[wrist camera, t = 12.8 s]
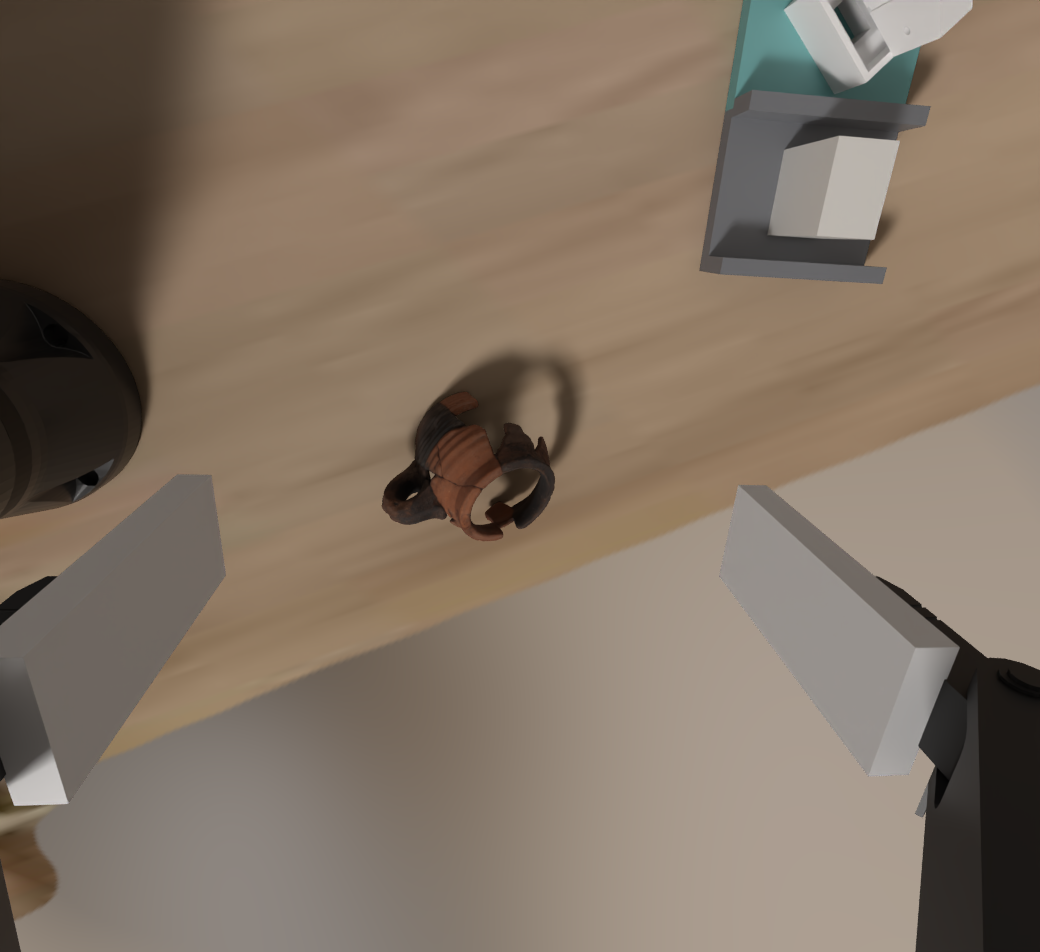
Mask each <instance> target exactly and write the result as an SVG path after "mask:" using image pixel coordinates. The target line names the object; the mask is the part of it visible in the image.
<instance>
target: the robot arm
mask: <svg viewBox="0 0 1040 952" xmlns="http://www.w3.org/2000/svg"><path fill="white" fill-rule="evenodd" d="M141 417H142V416H141V404H140V398H139V394H138V390H137V387H136V384H135V381H134V379H133V376H132V374H131V372H130V369H129V367H128V366H127V364H126V362H125V360H124V359H123V357H122V355H121V354H120V352H119V351H118V350H117V348H116V347H115V345H114V344H113V343H112V342H111V340H110V339H109V338H108V337H107V336H106V335H105V334H104V333H103V331H102V330H101V329H100V328H99V327H97V326H96V325H95V324H94V323H93V322H92V321H91V320H90V319H89V318H87V317H86V316H85V315H84V314H82V313H81V312H80V311H78V310H77V309H75V308H74V307H72V306H71V305H69V304H68V303H66V302H64V301H63V300H61V299H59V298H57V297H55V296H53V295H51V294H49V293H47V292H44V291H42V290H40V289H37V288H34V287H31V286H28V285H25V284H21V283H17V282H13V281H7V280H1V279H0V519H3V518H8V517H13V516H19V515H24V514H29V513H35V512H40V511H45V510H51V509H55V508H60V507H63V506H66V505H69V504H72V503H74V502H77V501H79V500H81V499H83V498H85V497H87V496H89V495H91V494H92V493H94V492H95V491H97V490H98V489H99V488H101V487H102V486H104V485H105V484H107V483H108V482H109V481H111V480H112V479H113V478H114V477H116V476H117V475H118V474H119V473H120V472H121V471H122V470H123V469H124V467H125V466H126V465H127V463H128V462H129V460H130V459H131V457H132V455H133V453H134V451H135V449H136V446H137V443H138V440H139V436H140V431H141ZM225 576H226V573H225V566H224V559H223V552H222V545H221V538H220V531H219V524H218V517H217V511H216V504H215V497H214V490H213V483H212V476H211V475H184V474H177V475H176V476H175V477H174V478H173V479H171V480H170V481H169V482H168V483H167V484H166V485H164V486H163V487H162V488H161V489H160V490H159V491H157V492H156V493H155V494H154V495H153V496H152V497H150V498H149V499H148V500H147V501H146V502H145V503H143V504H142V505H141V506H140V507H139V508H137V509H136V510H135V511H134V512H133V513H132V514H130V515H129V516H128V517H127V518H126V519H125V520H123V521H122V522H121V523H120V524H119V525H118V526H116V527H115V528H114V529H113V530H112V531H110V532H109V533H108V534H107V535H106V536H105V537H103V538H102V539H101V540H100V541H99V542H98V543H96V544H95V545H94V546H93V547H92V548H91V549H89V550H88V551H87V552H86V553H85V554H84V555H82V556H81V557H80V558H79V559H78V560H76V561H75V562H74V563H73V564H72V565H71V566H69V567H68V568H67V569H66V570H65V571H64V572H62V573H61V574H60V575H59V576H47V577H45V578H43V579H41V580H39V581H37V582H35V583H33V584H31V585H29V586H27V587H25V588H23V589H21V590H18V591H16V592H15V593H14V594H13V595H12V596H10V597H9V598H8V599H7V600H5V601H4V602H3V603H2V604H0V781H1V780H2V779H3V778H5V781H6V784H7V786H8V789H9V792H10V795H11V798H12V800H13V803H14V806H19V805H48V804H68V803H69V802H70V801H71V799H72V798H73V796H74V795H75V793H76V792H77V791H78V789H79V788H80V786H81V785H82V783H83V782H84V780H85V779H86V778H87V776H88V774H89V773H90V771H91V770H92V769H93V767H94V766H95V764H96V763H97V762H98V760H99V759H100V757H101V756H102V754H103V753H104V751H105V750H106V748H107V747H108V746H109V744H110V743H111V741H112V740H113V738H114V737H115V735H116V734H117V732H118V731H119V730H120V728H121V727H122V725H123V724H124V722H125V721H126V719H127V718H128V717H129V715H130V714H131V712H132V711H133V709H134V708H135V706H136V705H137V703H138V702H139V701H140V699H141V698H142V696H143V695H144V693H145V692H146V690H147V689H148V687H149V686H150V685H151V683H152V682H153V680H154V679H155V677H156V676H157V674H158V673H159V671H160V670H161V669H162V667H163V666H164V664H165V663H166V661H167V660H168V658H169V657H170V656H171V654H172V653H173V651H174V650H175V648H176V647H177V645H178V644H179V642H180V641H181V640H182V638H183V637H184V635H185V634H186V632H187V631H188V629H189V628H190V626H191V625H192V624H193V622H194V621H195V619H196V618H197V616H198V615H199V613H200V612H201V610H202V609H203V608H204V606H205V605H206V603H207V602H208V600H209V599H210V597H211V596H212V595H213V593H214V592H215V590H216V589H217V587H218V586H219V584H220V583H221V581H222V580H223V579H224V577H225ZM719 577H720V578H721V579H722V581H723V582H724V583H725V585H726V586H727V587H728V589H729V590H730V591H731V593H732V594H733V595H734V597H735V598H736V599H737V601H738V602H739V603H740V605H741V606H742V608H743V609H744V610H745V612H746V613H747V614H748V616H749V617H750V618H751V620H752V621H753V622H754V624H755V625H756V626H757V628H758V629H759V630H760V632H761V633H762V634H763V636H764V637H765V638H766V640H767V641H768V642H769V644H770V645H771V646H772V648H773V649H774V650H775V652H776V653H777V655H778V656H779V657H780V659H781V660H782V661H783V662H784V664H785V665H786V667H787V668H788V669H789V671H790V672H791V673H792V675H793V676H794V677H795V679H796V680H797V681H798V683H799V684H800V685H801V687H802V688H803V689H804V691H805V692H806V693H807V695H808V696H809V697H810V699H811V700H812V702H813V703H814V704H815V705H816V707H817V708H818V710H819V711H820V712H821V714H822V715H823V716H824V718H825V719H826V720H827V722H828V723H829V724H830V726H831V727H832V728H833V730H834V731H835V732H836V734H837V735H838V736H839V738H840V739H841V740H842V742H843V743H844V745H845V746H846V747H847V748H848V750H849V751H850V753H851V754H852V755H853V756H854V758H855V759H856V761H857V762H858V763H859V765H860V766H861V767H862V768H863V770H864V771H865V773H866V774H867V775H868V776H889V775H890V776H892V775H909V773H910V770H911V767H912V765H913V763H914V760H915V757H916V755H917V752H918V750H919V748H921V750H922V751H923V752H924V753H925V754H926V755H927V756H928V757H929V759H930V760H931V761H932V762H933V763H934V764H935V768H934V770H933V772H932V775H931V777H930V779H929V782H928V784H927V787H926V789H925V792H924V794H923V796H922V798H921V801H920V803H919V806H918V808H917V810H916V813H915V814H916V815H918V816H920V817H923V815H924V814H925V812H926V820H925V834H924V847H923V860H922V873H921V886H920V899H919V913H918V927H917V939H916V952H1040V670H1038V669H1035V668H1033V667H1031V666H1028V665H1026V664H1023V663H1020V662H1016V661H1012V660H1008V659H1001V658H987V657H985V656H984V655H983V654H982V653H980V652H979V651H978V650H977V649H975V648H974V647H973V646H972V645H971V644H969V643H968V642H967V641H966V640H964V639H963V638H962V637H961V636H960V635H958V634H957V633H956V632H954V631H953V630H952V629H951V628H950V627H948V626H947V625H946V624H945V623H944V622H942V621H941V620H937V617H936V616H935V615H934V614H932V613H931V612H930V611H929V610H928V609H926V608H922V606H921V604H920V603H919V602H918V601H916V600H915V599H914V598H913V597H912V596H910V595H909V594H908V593H907V592H905V591H904V590H903V589H901V588H899V587H897V586H895V585H893V584H891V583H890V582H888V581H886V580H884V579H882V578H880V577H877V576H876V577H875V576H874V575H873V574H871V573H870V572H869V571H868V570H867V569H866V568H864V567H863V566H862V565H861V564H860V563H858V562H857V561H856V560H855V559H854V558H852V557H851V556H850V555H849V554H848V553H846V552H845V551H844V550H843V549H841V548H840V547H839V546H838V545H837V544H836V543H834V542H833V541H832V540H831V539H830V538H828V537H827V536H826V535H825V534H824V533H822V532H821V531H820V530H819V529H818V528H816V527H815V526H814V525H813V524H812V523H810V522H809V521H808V520H807V519H806V518H805V517H803V516H802V515H801V514H800V513H798V512H797V511H796V510H795V509H794V508H792V507H791V506H790V505H789V504H788V503H786V502H785V501H784V500H783V499H782V498H781V497H779V496H778V495H777V494H776V493H775V492H773V491H772V490H771V489H770V488H769V487H767V486H766V485H738V489H737V494H736V498H735V503H734V508H733V513H732V518H731V522H730V528H729V532H728V537H727V542H726V547H725V551H724V556H723V561H722V565H721V570H720V575H719ZM0 952H21V950H20V946H19V941H18V937H17V932H16V928H15V923H14V919H13V914H12V910H11V905H10V901H9V896H8V892H7V888H6V883H5V879H4V874H3V870H2V865H1V861H0Z"/></svg>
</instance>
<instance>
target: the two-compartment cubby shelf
mask: <svg viewBox="0 0 1040 952" xmlns="http://www.w3.org/2000/svg"><path fill="white" fill-rule="evenodd" d="M792 1H793V0H743V5H742V12H741V18H740V24H739V30H738V36H737V42H736V49H735V55H734V61H733V67H732V73H731V79H730V86H729V92H728V98H727V104H726V110H725V116H724V123H723V129H722V135H721V141H720V147H719V153H718V160H717V166H716V172H715V178H714V184H713V190H712V197H711V203H710V209H709V215H708V221H707V227H706V234H705V240H704V246H703V252H702V258H701V264H700V271H704V272H710V273H716V274H725V275H742V276H758V277H775V278H792V279H809V280H825V281H842V282H859V283H876V284H882V283H883V280H884V276H885V272H886V269H887V268H885V267H873V266H864V263H865V259H866V255H867V252H868V248H869V244H870V240H862V239H815V238H800V237H786V236H771V235H767V234H768V229H769V224H770V219H771V214H772V209H773V204H774V199H775V194H776V189H777V184H778V179H779V174H780V169H781V163H782V158H783V153H784V150H785V149H789V148H793V147H797V146H801V145H805V144H809V143H813V142H817V141H820V140H824V139H828V138H832V137H836V136H849V137H861V138H872V139H884V140H895V141H896V139H897V135H898V132H901V131H905V130H909V129H914V128H918V127H922V126H925V125H926V122H927V118H928V114H929V110H930V107H931V106H921V105H910V104H906V100H907V97H908V93H909V89H910V85H911V81H912V77H913V73H914V69H915V66H916V62H917V58H918V54H919V50H920V46H919V47H917V48H914V49H912V50H909V51H907V52H904V53H902V54H900V55H897V56H895V57H893V58H892V59H891V60H890V61H889V62H888V63H887V64H886V65H884V66H883V67H882V68H881V69H880V70H879V71H878V72H877V73H876V74H875V75H874V76H873V77H872V78H871V79H870V80H869V81H868V82H866V83H864V84H861V85H859V86H856V87H853V88H851V89H848V90H845V91H843V92H840V93H837V94H834V93H833V91H832V90H831V88H830V86H829V85H828V83H827V81H826V80H825V78H824V76H823V75H822V73H821V71H820V70H819V68H818V66H817V65H816V63H815V61H814V60H813V58H812V56H811V55H810V53H809V51H808V50H807V48H806V46H805V45H804V43H803V41H802V40H801V38H800V36H799V35H798V33H797V31H796V29H795V28H794V26H793V24H792V23H791V21H790V19H789V18H788V16H787V14H786V13H785V11H784V9H785V8H786V7H787V6H788V5H789V4H790V3H791V2H792ZM834 11H835V12H836V14H837V16H838V18H839V19H840V21H841V23H842V25H843V27H844V28H845V30H846V32H847V34H848V35H849V37H850V39H851V40H852V39H853V38H854V35H853V33H852V31H851V30H850V28H849V26H848V24H847V23H846V21H845V19H844V17H843V15H842V14H841V12H840V10H839V8H838V7H836V8H835V9H834Z"/></svg>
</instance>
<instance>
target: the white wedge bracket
mask: <svg viewBox="0 0 1040 952" xmlns="http://www.w3.org/2000/svg"><path fill="white" fill-rule="evenodd" d="M836 7H838V8H839V10H840V12H841V14H842V15H843V17H844V19H845V21H846V23H847V24H848V26H849V28H850V30H851V31H852V33H853V35H854V38H853V39H852V40H851V39H850V37H849V35H848V34H847V32H846V30H845V28H844V27H843V25H842V23H841V21H840V19H839V18H838V16H837V14H836V12H835V11H834V9H835V8H836ZM971 9H972V0H793V1H792V2H791V3H790V4H789V5H788V6H787V7H786V8H785V9H784V11H785V13H786V14H787V16H788V18H789V19H790V21H791V23H792V24H793V26H794V28H795V29H796V31H797V33H798V35H799V36H800V38H801V40H802V41H803V43H804V45H805V46H806V48H807V50H808V51H809V53H810V55H811V56H812V58H813V60H814V61H815V63H816V65H817V66H818V68H819V70H820V71H821V73H822V75H823V76H824V78H825V80H826V81H827V83H828V85H829V86H830V88H831V90H832V91H833V93H834V94H837V93H840V92H843V91H845V90H848V89H851V88H853V87H856V86H859V85H861V84H864V83H866V82H868V81H869V80H870V79H871V78H872V77H873V76H874V75H875V74H876V73H877V72H878V71H879V70H880V69H881V68H882V67H883V66H884V65H886V64H887V63H888V62H889V61H890V60H891V59H892V58H893V57H895V56H897V55H900V54H902V53H904V52H907V51H909V50H912V49H914V48H917V47H919V46H922V45H924V44H927V43H929V42H932V41H934V40H937V39H939V38H941V37H942V36H943V35H944V34H945V33H946V32H947V31H949V30H950V29H951V28H952V27H953V26H954V25H955V24H956V23H957V22H958V21H959V20H960V19H961V18H962V17H963V16H965V15H966V14H967V13H968V12H969V11H970V10H971Z"/></svg>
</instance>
